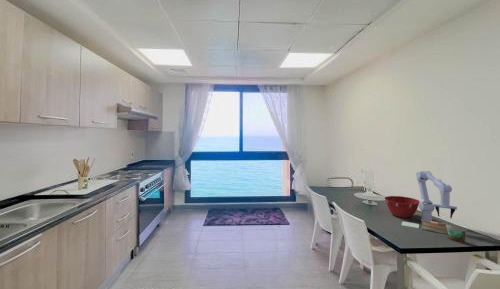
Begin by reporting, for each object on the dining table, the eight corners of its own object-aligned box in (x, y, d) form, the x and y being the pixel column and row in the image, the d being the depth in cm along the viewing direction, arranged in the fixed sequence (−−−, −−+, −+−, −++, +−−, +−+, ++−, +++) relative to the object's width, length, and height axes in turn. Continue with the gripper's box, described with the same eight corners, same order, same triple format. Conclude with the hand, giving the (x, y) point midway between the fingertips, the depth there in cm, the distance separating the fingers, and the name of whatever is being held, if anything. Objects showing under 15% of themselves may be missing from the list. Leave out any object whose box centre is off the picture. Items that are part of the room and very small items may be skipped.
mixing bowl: (418, 222, 214) (419, 204, 214) (381, 216, 232) (382, 199, 231) (420, 214, 237) (420, 198, 237) (386, 209, 254) (387, 194, 254)
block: (430, 227, 201) (430, 221, 201) (437, 228, 199) (437, 222, 198) (430, 229, 197) (430, 222, 197) (437, 230, 195) (437, 223, 195)
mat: (402, 221, 216) (402, 221, 216) (419, 224, 209) (419, 224, 209) (401, 225, 206) (401, 225, 206) (418, 228, 199) (418, 228, 199)
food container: (441, 237, 181) (442, 223, 181) (447, 236, 183) (447, 222, 183) (461, 244, 169) (461, 229, 169) (466, 242, 171) (467, 228, 171)
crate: (422, 224, 208) (422, 220, 208) (449, 229, 198) (449, 224, 197) (421, 229, 197) (421, 224, 197) (451, 234, 187) (451, 229, 187)
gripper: (433, 199, 198) (433, 216, 198) (457, 202, 189) (457, 220, 190) (433, 198, 204) (433, 214, 204) (456, 200, 195) (456, 217, 195)
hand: (444, 217), depth 197 cm, fingers open, 7 cm apart
